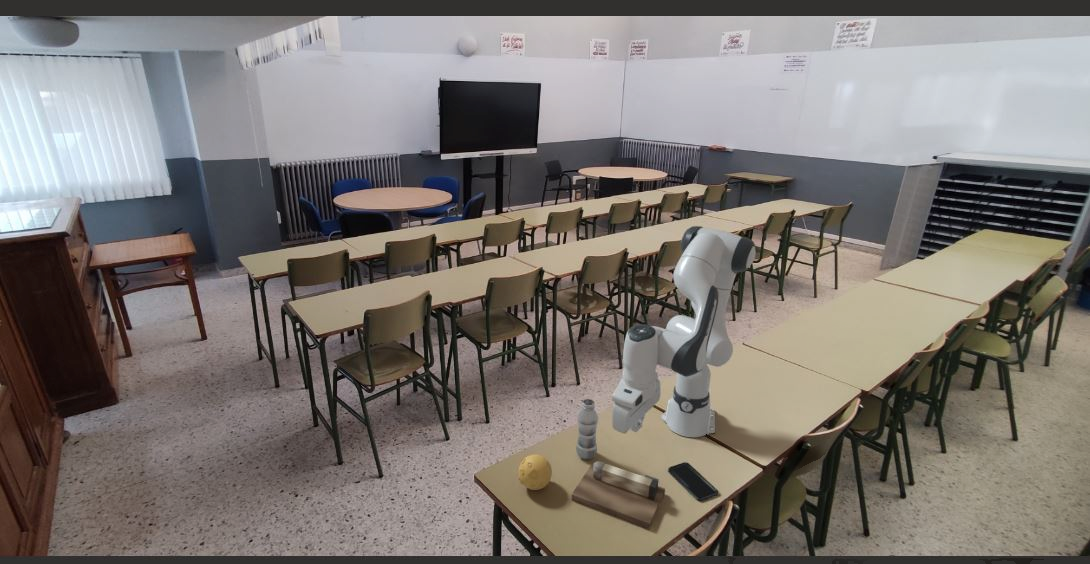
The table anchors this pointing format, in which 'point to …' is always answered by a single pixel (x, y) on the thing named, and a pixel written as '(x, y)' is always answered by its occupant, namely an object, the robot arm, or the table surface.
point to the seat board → (617, 500)
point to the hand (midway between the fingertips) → (636, 429)
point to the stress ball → (534, 472)
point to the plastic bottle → (587, 430)
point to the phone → (693, 481)
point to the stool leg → (625, 479)
